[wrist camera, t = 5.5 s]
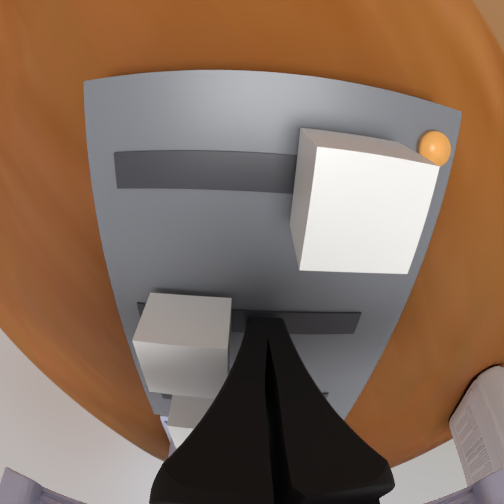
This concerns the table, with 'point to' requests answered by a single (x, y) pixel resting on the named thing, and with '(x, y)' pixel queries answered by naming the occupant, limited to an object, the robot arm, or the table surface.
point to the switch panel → (247, 205)
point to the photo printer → (481, 426)
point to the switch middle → (184, 344)
